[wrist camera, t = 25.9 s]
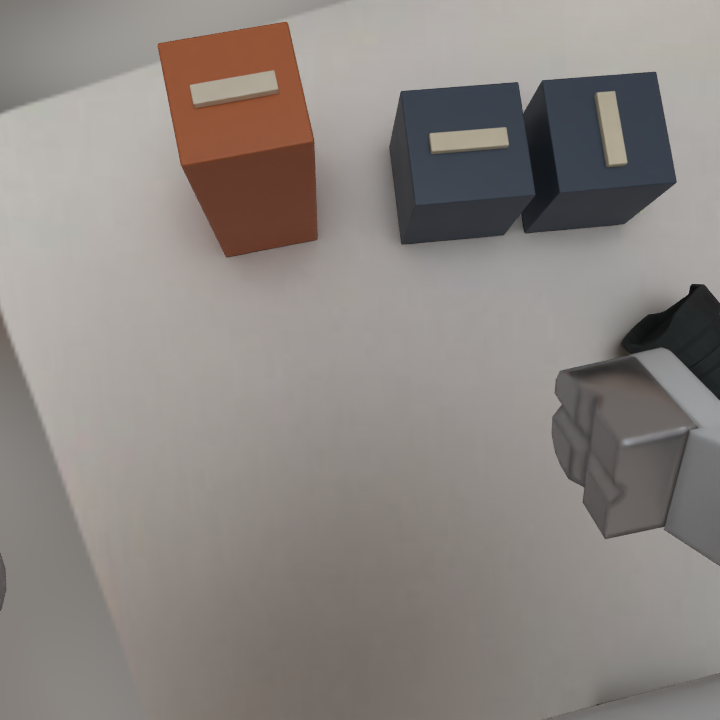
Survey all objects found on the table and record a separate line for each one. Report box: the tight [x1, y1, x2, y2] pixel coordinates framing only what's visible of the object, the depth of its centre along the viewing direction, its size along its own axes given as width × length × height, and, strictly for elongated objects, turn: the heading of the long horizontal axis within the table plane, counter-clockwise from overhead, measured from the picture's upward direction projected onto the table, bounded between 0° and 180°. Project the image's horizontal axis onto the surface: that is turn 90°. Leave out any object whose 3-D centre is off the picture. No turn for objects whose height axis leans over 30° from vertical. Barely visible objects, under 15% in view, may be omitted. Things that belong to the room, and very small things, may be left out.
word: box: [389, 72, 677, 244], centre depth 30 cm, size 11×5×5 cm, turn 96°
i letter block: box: [158, 22, 318, 257], centre depth 27 cm, size 4×4×10 cm
